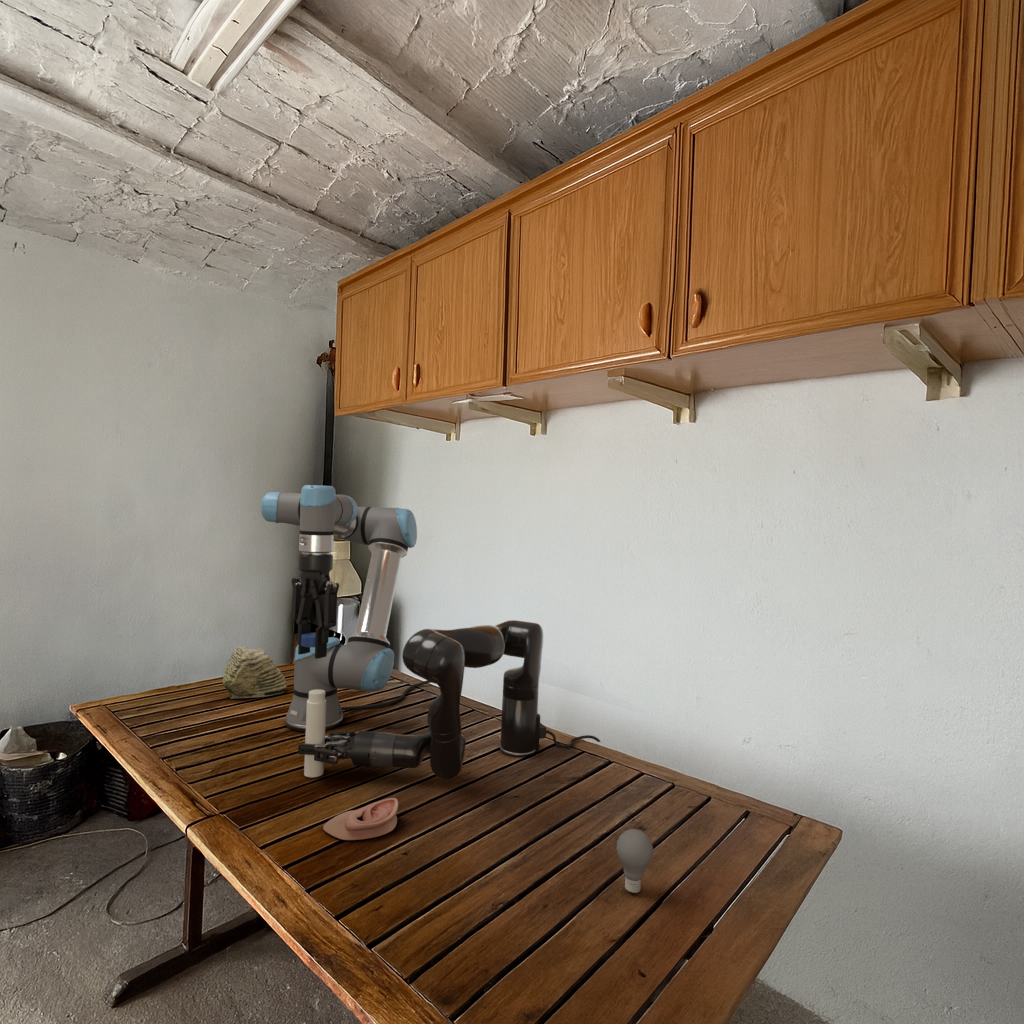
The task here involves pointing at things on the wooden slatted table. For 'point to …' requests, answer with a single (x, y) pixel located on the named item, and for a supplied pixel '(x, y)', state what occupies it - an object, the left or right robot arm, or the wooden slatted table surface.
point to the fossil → (252, 674)
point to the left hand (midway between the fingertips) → (312, 655)
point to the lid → (308, 640)
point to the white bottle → (315, 730)
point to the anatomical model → (364, 821)
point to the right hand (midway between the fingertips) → (303, 744)
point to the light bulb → (634, 857)
